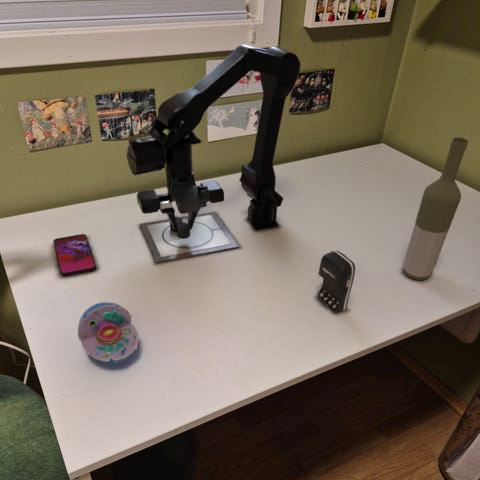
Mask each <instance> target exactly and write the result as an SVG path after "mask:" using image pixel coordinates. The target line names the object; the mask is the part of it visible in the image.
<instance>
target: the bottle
mask: <svg viewBox="0 0 480 480" xmlns="http://www.w3.org/2000/svg"><path fill="white" fill-rule="evenodd" d="M468 143H469V141H468V139H466V138H464V137H453V138H452V141H451V142H450V146H449V151H448V154H447V157H446V159H445V160H446V161H445V163H444V166H443V169H442V172H441V176H439V178H438V179H436V180H434V181H433V182H432V183H430V184H428V186H426V187H425V188H424V190H423V194H422V197H421V200H420V204H419V207H418V212H417V215H416V218H415V222H414V225H413V228H412V233H411V236H410V240H409V243H408V246H407V249H406V253H405V257H404V260H403V264H402V272H403V273H404V275H405V276H406V277H408V278H410V279H413V280H418V281H424V280H428V279H429V278H430V277H431V276H432V274H433V273H434V270H435V267H436V264H437V262H438V259H439V257H440V254H441V251H442V248H443V247H444V243H445V242H446V238H447V235H448V233H449V230H450V228H451V225H452V223H453V221H454V217H455V215H456V213H457V210H458V207H459V205H460V202H461V199H462V193H461V190H460V187H459V186H458V185H457V182H456V178H457V175H458V171H459V169H460V166H461V163H462V160H463V157H464V155H465V151H466V150H467V147H468Z"/></svg>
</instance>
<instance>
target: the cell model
mask: <svg viewBox="0 0 480 480" xmlns="http://www.w3.org/2000/svg"><path fill="white" fill-rule="evenodd" d="M132 319H133V314H131V313H130V312H129V310H128V309H127V308H125V307H124V306H122V305H120V304H117V303H115V302H111V301H104V302H103V301H102V302H97V303H95V304H93V305H91V306H89V307H88V308H87V309H86V310H84V312H83V313H82V314H81V316H80V318H79V321H78V325H77V338H78V339H79V341H80V344H81V347H82V349H83V350H84V351H85V353H87V354H88V355H89V356H90V357H91V358H93V359H94V360H97V361H99V362H100V363H104V364H118V363H122V362H124V361H127V359H129V358H130V357H131V356H132V355H133V354H134V353H135V352H136V351H137V350H138V347H137V346H138V343H139V333H138V330H137V328H136V327H135V325H134V324H132V321H133V320H132Z"/></svg>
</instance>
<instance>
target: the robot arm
mask: <svg viewBox="0 0 480 480" xmlns="http://www.w3.org/2000/svg"><path fill="white" fill-rule="evenodd" d="M300 71H301V60H300V59H299V57H298V56H297V55H296V53H294V52H291V51H289V50H286V49H283V48H281V47H278V46H271V47H269V48H267V49H264V48H259V47H253V46H249V45H246V44H244V43H243V44H239V45H237V46H236V47H235V48H234V50H233V52H231V53H230V54H229V55H228V56H227V57H226V58H225V59H224V60H222V61H221V62H220V63H219V64H217V66H215V67H214V68H213V69H212V70H211V71H210V72H209V73H207V74H206V75H205V76H204V77H203V78H201V80H199V81H198V82H197V83H196V84H194V86H192V87H191V88H189V89H187V90H185V91H182V92H181V91H180V92H179V93H176V94H174V95H173V96H171V97H169V98H168V99H166V100H163V102H162V103H161V104H160V105H159V107H158V108H157V117H156V118H155V120H154V122H153V124H152V126H151V128H150V129H149V132H148V135H149V136H150V137H143V138H132V139H131V138H130V139H129V140H128V146H127V149H126V151H127V152H126V159H127V164H128V167H129V170H130V172H131V173H132V175H133V176H140V175H144V174H149V173H155V172H160V171H162V170H163V169H165V170H164V171H165V176H166V190H167V193H161V194H157V193H156V191H155V189H153V188H152V189H146V190H140V191H138V192H137V194H136V201H137V204H138V206H139V209H140V211H141V213H142V214H144V215H145V214H146V215H147V214H153V213H157V212H159V211H160V213H161V214H166V215H167V217H168V219H170V221H171V223H172V226H173V228H174V230H175V232H177V223H176V218H175V217H176V210H175V208H174V207H173V206H174V205H173V202H175V205H176V208H177V211H178V213H179V214H181V215H185V214H187V216H188V224H189V225H190V230H191V229H192V227H193V224H194V221H195V219H196V216H197V215H198V214H199V212H200V211H201V210H202V209H203V208H206V207H207V205H208V203H211V204H216V203H217V204H218V203H222V202H224V201H225V191H224V189H223V187H221V185H220V184H219V183H218V181H216V180H209V181H201V182H200V183H199V185H197V183H196V181H195V174H194V171H193V170H194V168H193V149H192V147H193V145H199V144H201V143H202V139H201V138H199V137H198V136H197V135H196V134H195V132H194V130H195V129H196V128H197V127H198V125H200V123H201V122H202V119H203V117H204V115H205V112H207V110H208V109H210V107H211V106H212V105H213V104H214V103H215V102H217V101H218V100H219V99H220V98H221V97H223V95H225V94H226V93H228V91H229V90H231V89H232V88H233V87H234V86H235V85H236V84H238V83H239V81H242V80H243V78H244V77H246V76H247V75H248V74H249V73H250V72H257V73H259V79H260V84H261V89H262V99H261V107H260V111H259V112H260V113H259V117H258V123H257V130H256V135H255V136H256V137H255V141H254V148H253V154H252V158H251V160H250V162H249V163H248V164H247V165H245V164H242V166H241V175H240V178H239V182H240V187H241V188H242V190H243V191H244V192H245V193H246V195H247V197H248V198H250V199H249V205H248V206H247V216H246V221H247V222H248V223H249V224H250V225H251V227H252V228H253V229H254V230H255V231H262V230H268V229H272V228H278V227H279V225H280V224H279V223H278V222H277V216H278V215H277V213H278V208H279V207H281V206H282V204H283V201H284V197H283V196H282V195H281V194H280V193H279V192H277V191H276V181H277V178H276V173H275V169H274V159H275V154H276V149H277V144H278V138H279V133H280V129H281V123H282V118H283V113H284V107H285V104H286V100H287V97H289V95H290V94H291V92H292V91H293V89H294V88H295V86H296V84H297V80H298V77H299V75H300ZM165 130H166V131H167V132H168V133H165V132H164V131H165Z"/></svg>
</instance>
